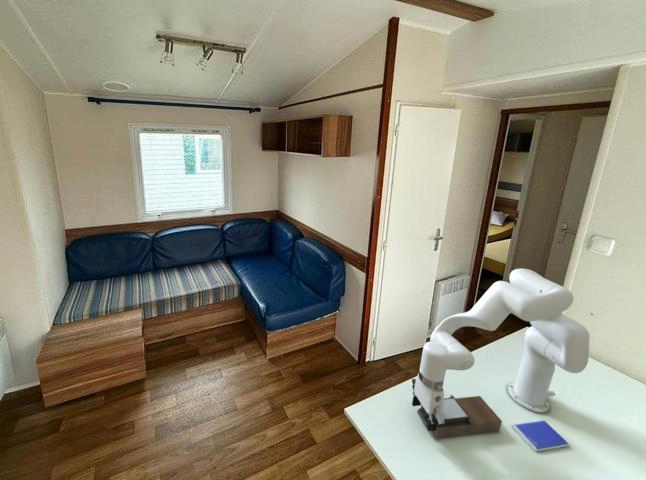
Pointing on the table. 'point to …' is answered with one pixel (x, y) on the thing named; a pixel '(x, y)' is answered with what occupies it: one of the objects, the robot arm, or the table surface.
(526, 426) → the hard drive
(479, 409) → the stand
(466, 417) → the device
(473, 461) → the table surface
